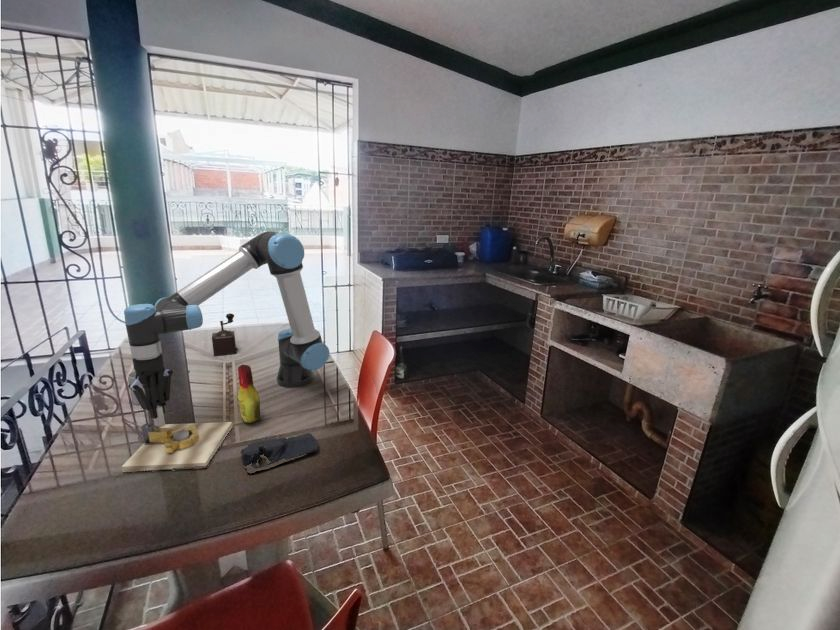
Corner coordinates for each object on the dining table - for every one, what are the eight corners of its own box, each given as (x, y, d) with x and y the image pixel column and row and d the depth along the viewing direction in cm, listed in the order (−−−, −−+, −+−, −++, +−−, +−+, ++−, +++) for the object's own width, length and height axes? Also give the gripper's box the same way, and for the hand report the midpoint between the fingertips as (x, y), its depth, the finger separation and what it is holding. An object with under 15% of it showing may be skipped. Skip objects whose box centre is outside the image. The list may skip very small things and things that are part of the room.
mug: (154, 403, 146) (150, 376, 143) (128, 406, 143) (123, 378, 141) (165, 389, 157) (161, 364, 154) (141, 391, 155) (136, 366, 152)
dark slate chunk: (322, 458, 118) (322, 445, 116) (243, 479, 108) (241, 464, 107) (311, 433, 131) (311, 420, 130) (240, 449, 121) (238, 435, 120)
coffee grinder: (238, 353, 197) (234, 319, 192) (213, 356, 192) (209, 321, 188) (237, 344, 210) (234, 312, 206) (214, 346, 206) (210, 313, 201)
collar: (158, 429, 125) (155, 415, 124) (206, 430, 125) (205, 416, 124) (130, 452, 114) (127, 437, 112) (184, 453, 113) (181, 438, 112)
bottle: (237, 412, 141) (232, 361, 136) (256, 408, 145) (251, 358, 139) (243, 428, 132) (238, 373, 126) (263, 422, 135) (259, 369, 130)
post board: (232, 427, 132) (231, 413, 131) (206, 468, 111) (204, 453, 110) (163, 429, 129) (160, 416, 128) (122, 472, 108) (119, 457, 107)
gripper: (158, 347, 124) (169, 413, 130) (116, 361, 112) (130, 433, 118) (176, 350, 122) (186, 417, 128) (135, 365, 110) (149, 438, 116)
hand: (159, 425), depth 123 cm, fingers closed
